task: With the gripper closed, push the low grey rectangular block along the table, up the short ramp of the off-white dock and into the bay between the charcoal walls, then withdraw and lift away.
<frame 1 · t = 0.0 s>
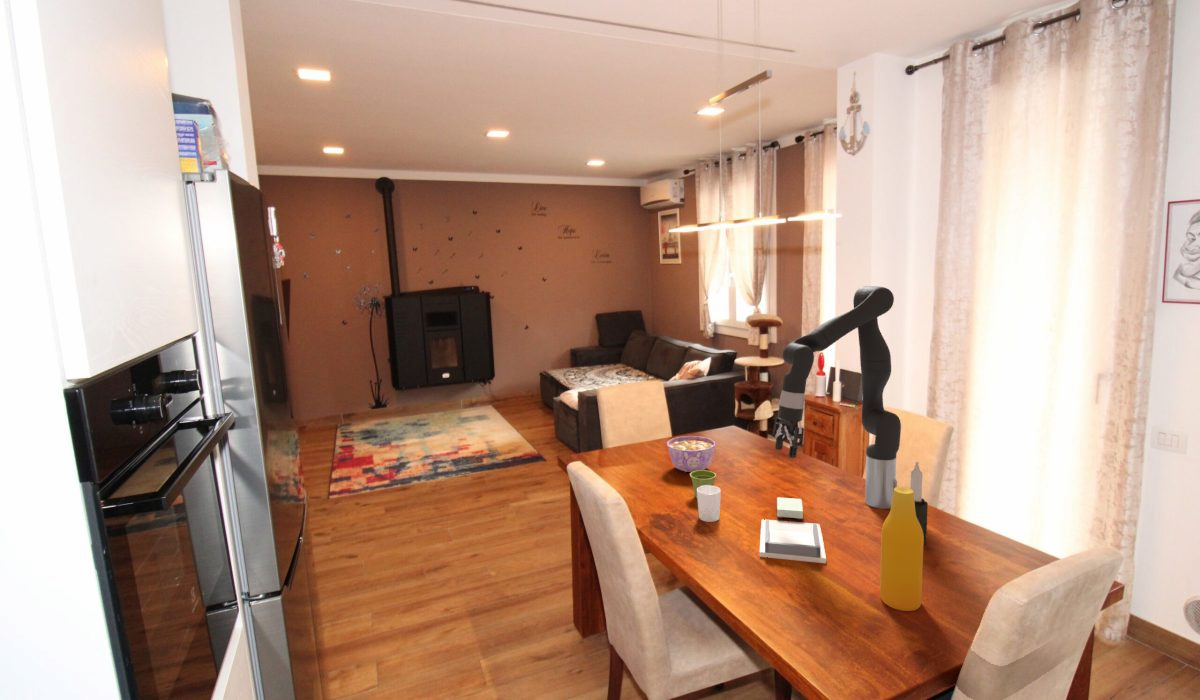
hand: (785, 453, 186), 22 cm above the table, tool pointing down, fingers open, 8 cm apart
plant pot: (703, 497, 209), on the table
beer bottle: (900, 601, 141), on the table
grey rectangular block: (789, 513, 192), on the table
loading dock: (791, 539, 174), on the table
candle: (914, 542, 169), on the table
bowl of food: (691, 470, 237), on the table
white cup: (709, 518, 192), on the table
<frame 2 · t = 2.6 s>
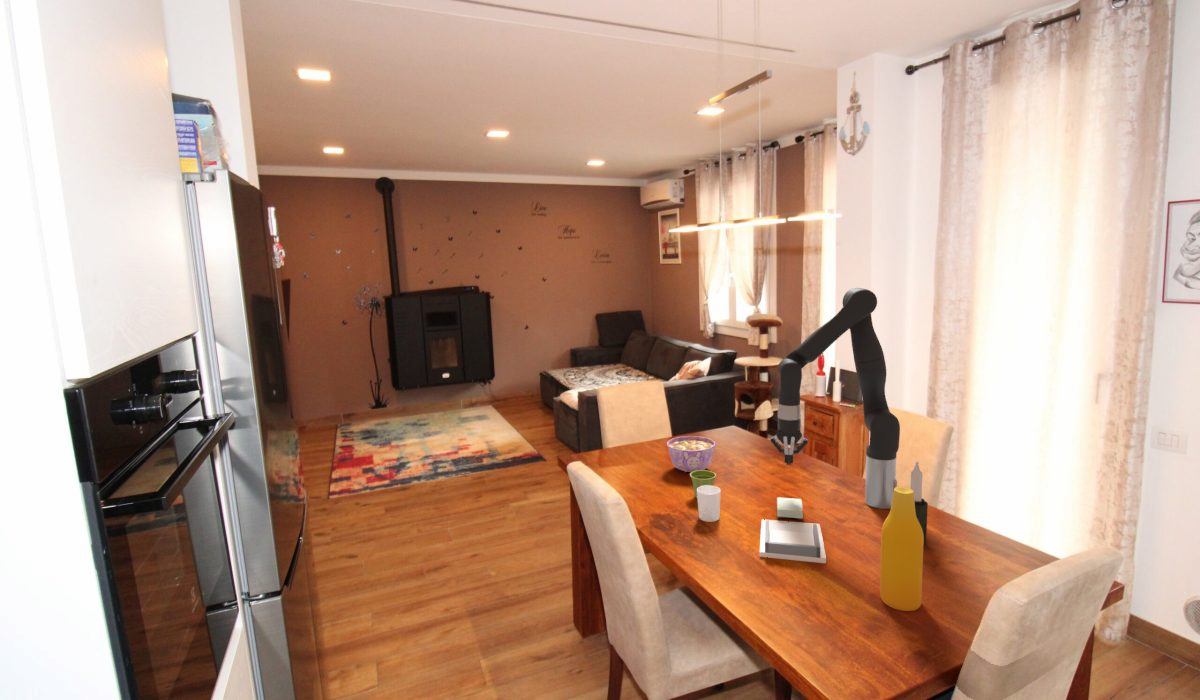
hand: (788, 464, 199), 14 cm above the table, tool pointing down, fingers closed
nothing on the table moved.
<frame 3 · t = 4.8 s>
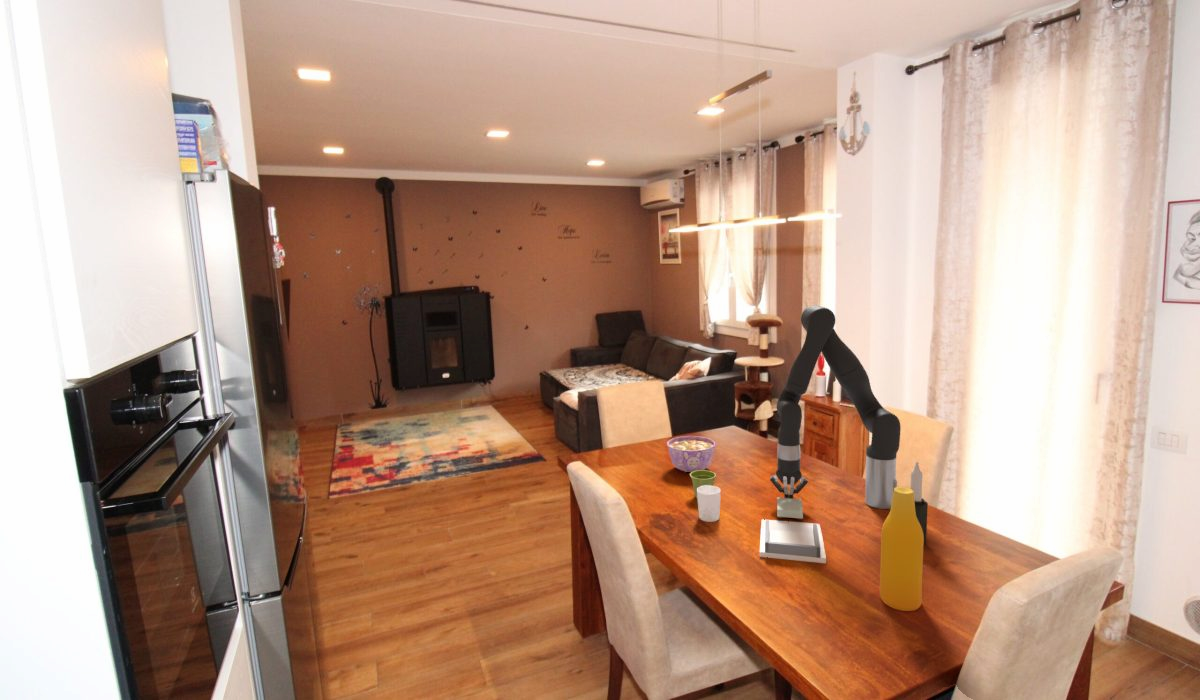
hand: (788, 503, 197), 1 cm above the table, tool pointing down, fingers closed
grey rectangular block: (789, 513, 192), on the table, touching gripper
everything else where it was.
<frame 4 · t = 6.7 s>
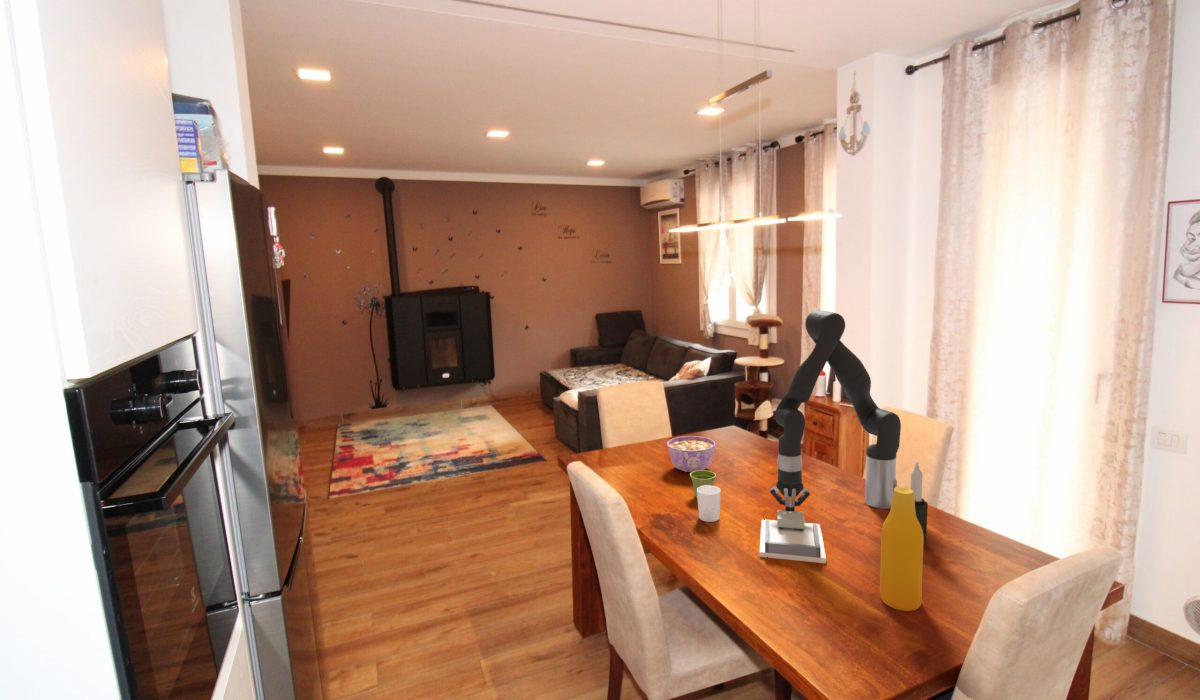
hand: (789, 516, 187), 1 cm above the table, tool pointing down, fingers closed
grey rectangular block: (790, 526, 181), point 1 cm above the table, tilted 9°, touching gripper, loading dock
everything else where it was.
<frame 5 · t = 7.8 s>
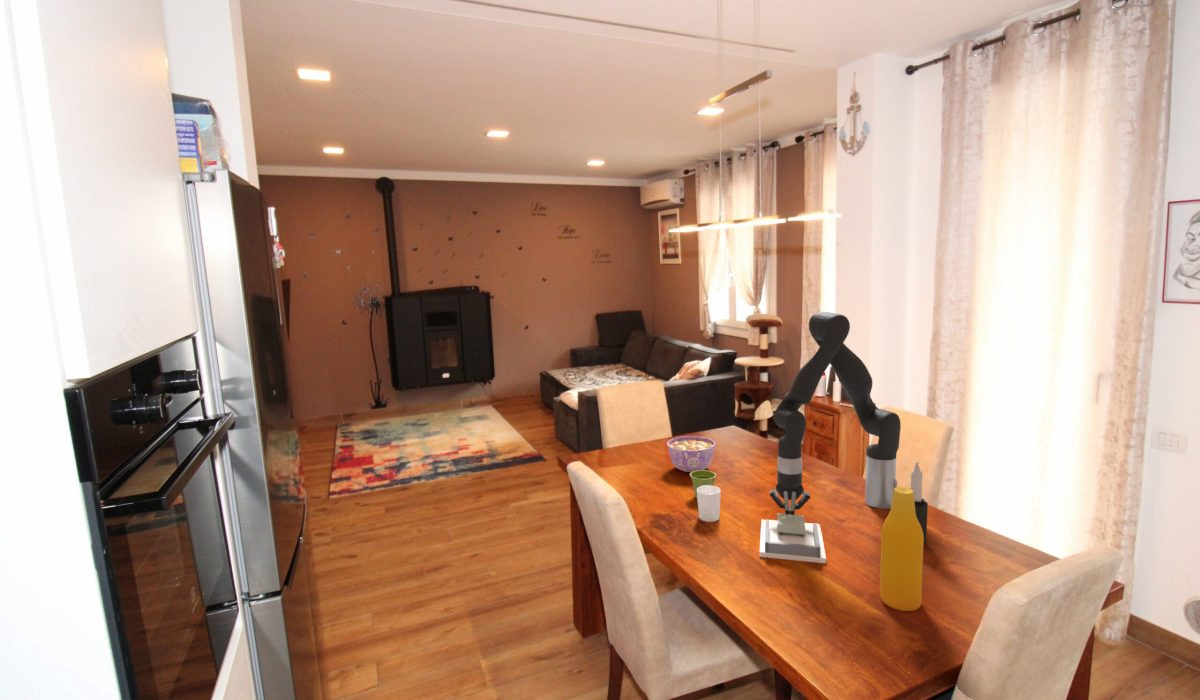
hand: (789, 520, 184), 2 cm above the table, tool pointing down, fingers closed
grey rectangular block: (790, 530, 177), point 1 cm above the table, tilted 6°, touching gripper, loading dock
everything else where it was.
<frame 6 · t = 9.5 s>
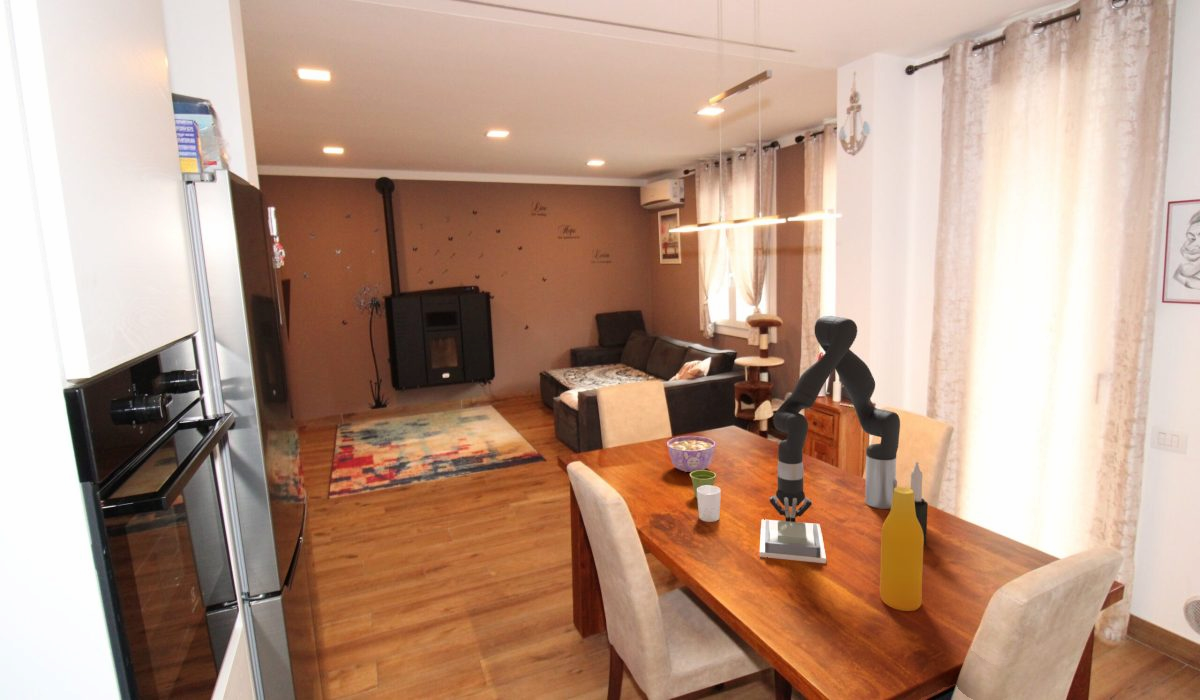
hand: (790, 527, 177), 3 cm above the table, tool pointing down, fingers closed
grey rectangular block: (791, 539, 171), point 2 cm above the table, touching gripper
everything else where it was.
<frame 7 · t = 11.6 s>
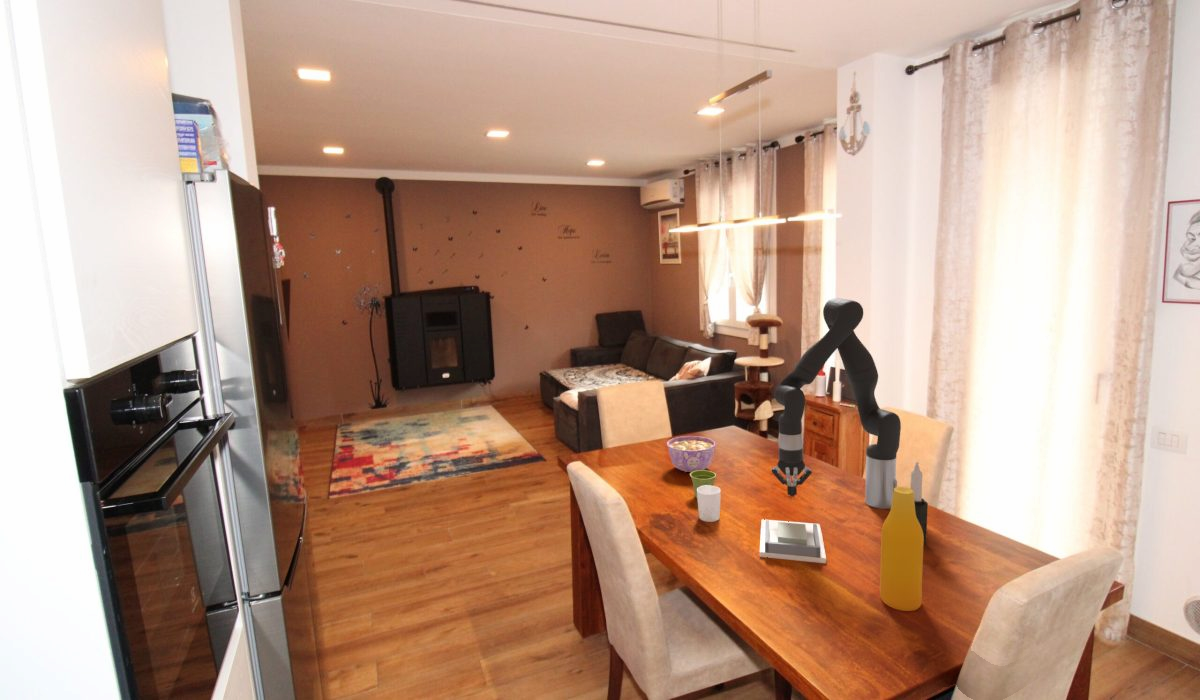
hand: (791, 495, 187), 8 cm above the table, tool pointing down, fingers closed
grey rectangular block: (791, 541, 170), point 1 cm above the table, touching loading dock
everything else where it was.
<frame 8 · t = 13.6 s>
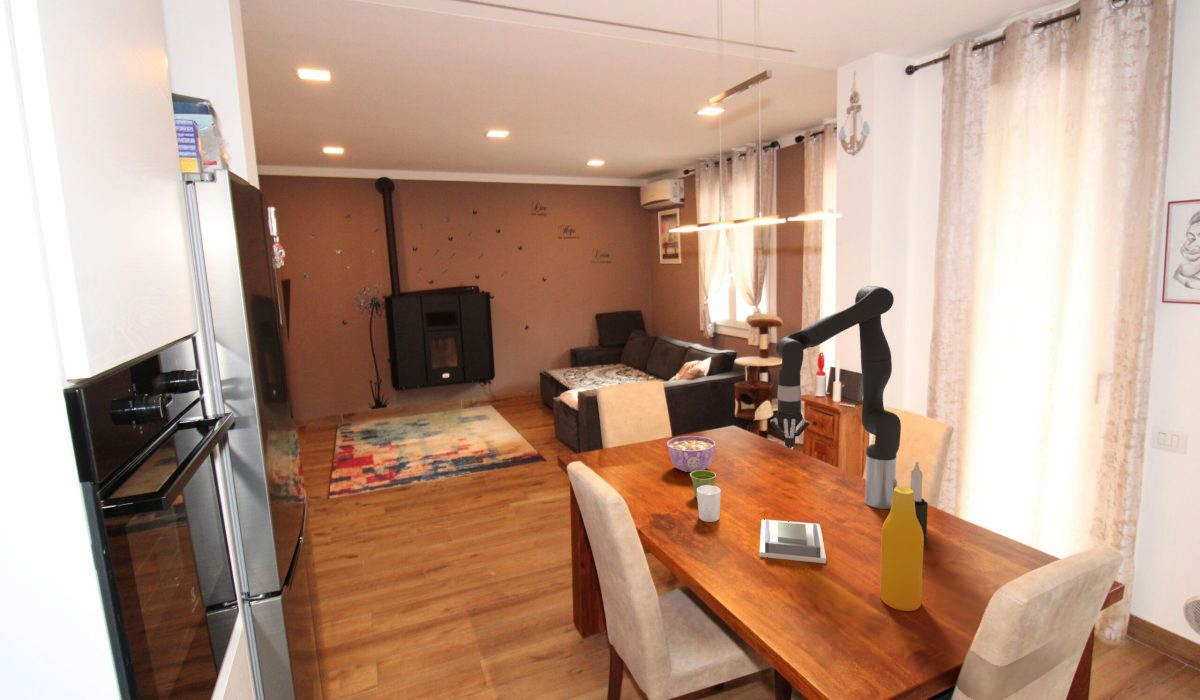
hand: (789, 447, 192), 22 cm above the table, tool pointing down, fingers closed
nothing on the table moved.
at the end: grey rectangular block inside the target area (1.6 cm from its centre), point 1.5 cm above the table; grey rectangular block tilted 0° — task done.
